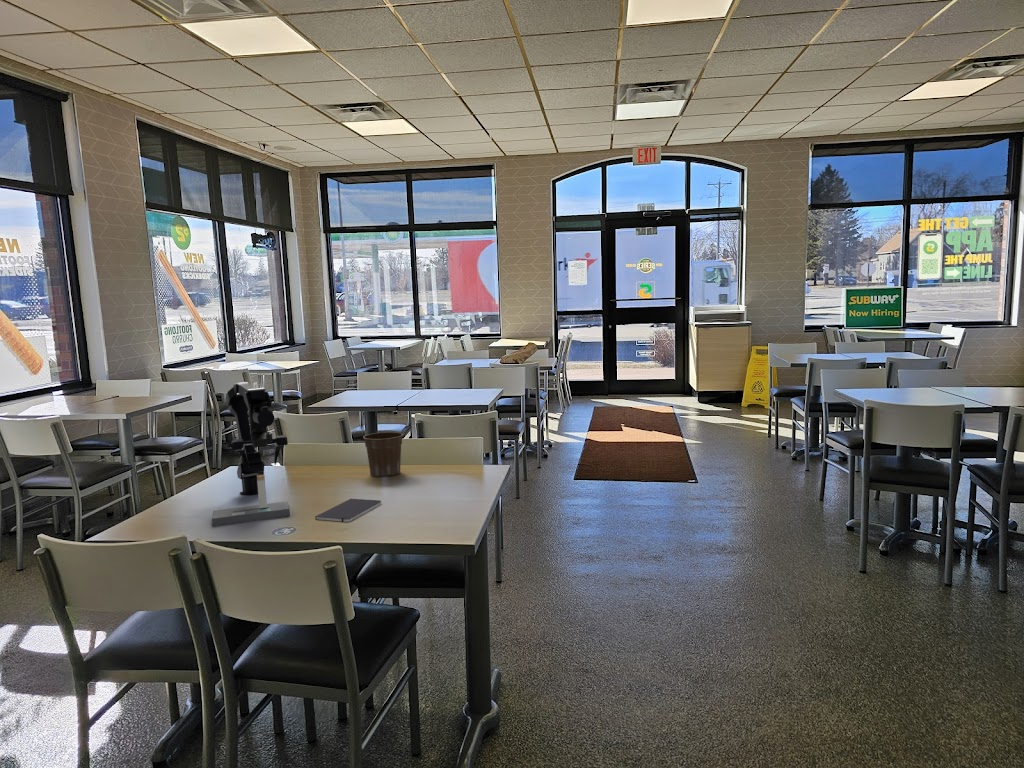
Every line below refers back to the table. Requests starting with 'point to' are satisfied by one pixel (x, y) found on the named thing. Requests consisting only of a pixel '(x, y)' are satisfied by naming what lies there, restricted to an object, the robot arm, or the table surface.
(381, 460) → the plant pot
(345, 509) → the notebook
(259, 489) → the slide lever
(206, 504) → the table surface
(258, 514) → the switch housing
